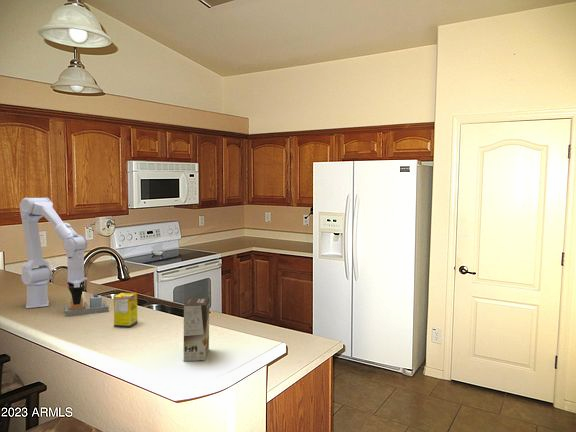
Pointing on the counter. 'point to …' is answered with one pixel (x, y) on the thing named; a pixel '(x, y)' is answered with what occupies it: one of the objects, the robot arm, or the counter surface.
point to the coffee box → (196, 329)
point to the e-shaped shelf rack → (86, 309)
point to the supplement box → (125, 309)
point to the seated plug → (95, 301)
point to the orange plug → (78, 306)
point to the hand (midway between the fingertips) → (76, 301)
